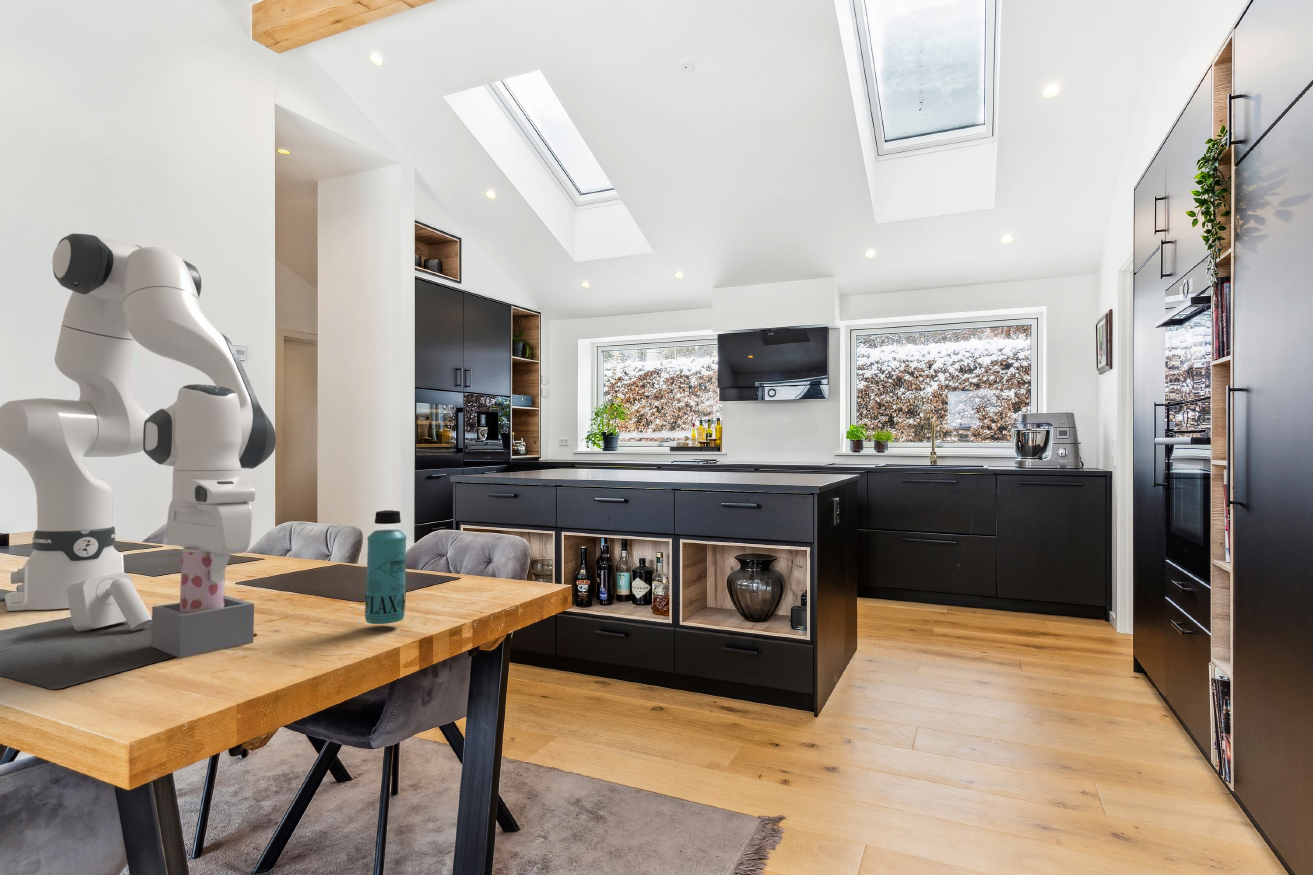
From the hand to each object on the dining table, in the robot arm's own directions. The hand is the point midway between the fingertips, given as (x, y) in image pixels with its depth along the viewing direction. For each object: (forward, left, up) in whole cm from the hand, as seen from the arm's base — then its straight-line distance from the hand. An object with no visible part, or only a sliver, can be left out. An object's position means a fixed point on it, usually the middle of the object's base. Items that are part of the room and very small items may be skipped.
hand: (205, 578), depth 103 cm
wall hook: (-21, -4, -10) cm, 24 cm away
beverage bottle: (+14, +22, -10) cm, 28 cm away
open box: (0, 0, -10) cm, 10 cm away
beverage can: (0, 0, -10) cm, 10 cm away
